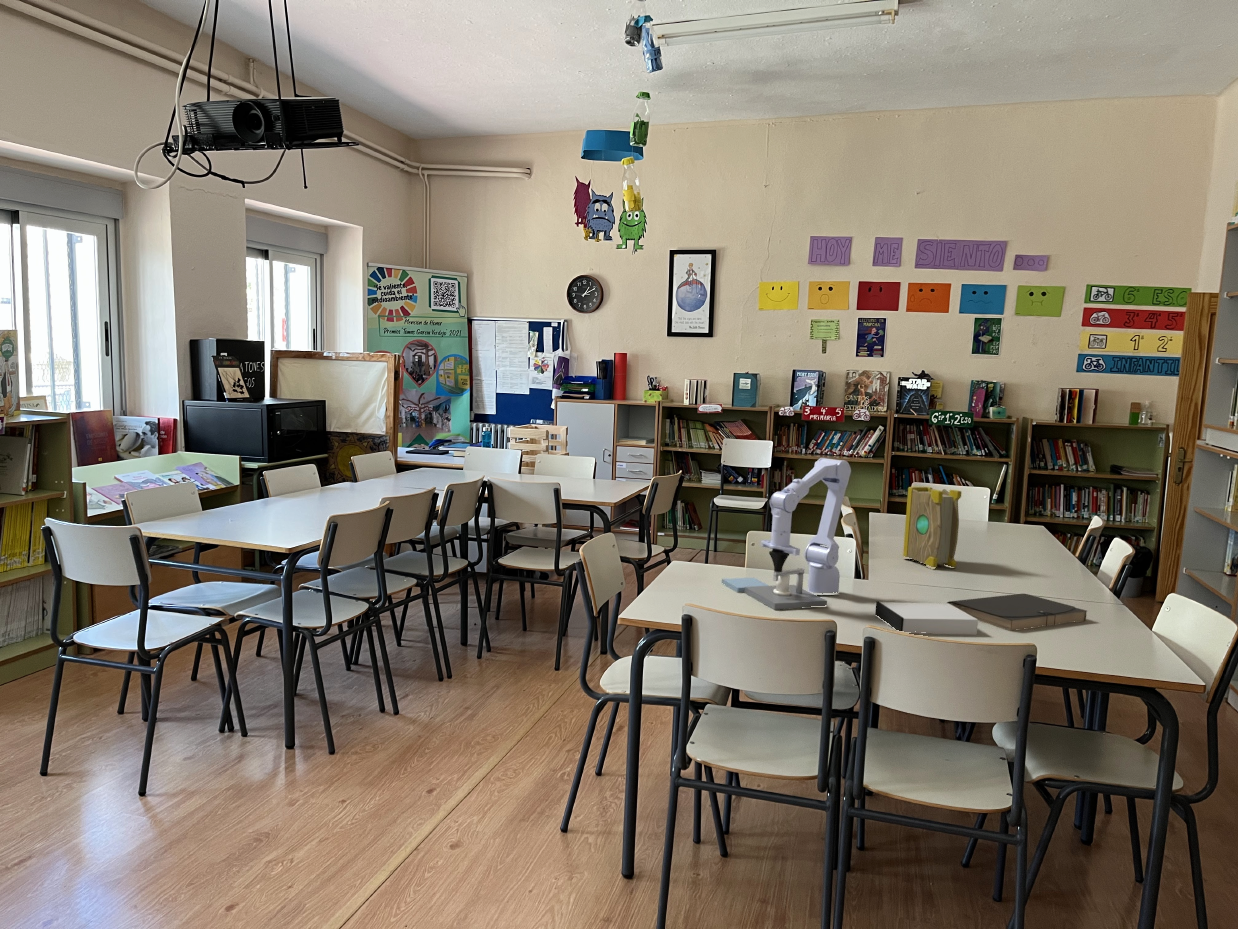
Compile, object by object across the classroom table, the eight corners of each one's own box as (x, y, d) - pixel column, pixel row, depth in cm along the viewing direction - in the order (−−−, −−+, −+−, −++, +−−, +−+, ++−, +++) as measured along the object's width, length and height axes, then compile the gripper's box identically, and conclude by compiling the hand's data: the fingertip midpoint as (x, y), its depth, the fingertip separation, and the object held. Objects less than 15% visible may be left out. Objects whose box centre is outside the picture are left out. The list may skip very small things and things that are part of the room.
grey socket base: (793, 590, 276) (795, 565, 275) (826, 607, 257) (828, 580, 256) (744, 592, 270) (745, 567, 270) (774, 610, 251) (776, 582, 251)
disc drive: (874, 617, 250) (875, 600, 249) (946, 618, 252) (948, 602, 252) (899, 635, 233) (901, 618, 232) (977, 636, 235) (978, 619, 234)
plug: (785, 597, 267) (786, 572, 266) (793, 601, 262) (795, 576, 261) (769, 598, 265) (771, 573, 264) (778, 602, 260) (779, 577, 259)
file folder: (1012, 619, 239) (946, 599, 260) (1011, 633, 239) (945, 612, 261) (1088, 609, 253) (1019, 591, 275) (1087, 623, 253) (1018, 603, 275)
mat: (753, 582, 286) (753, 577, 286) (770, 590, 274) (770, 586, 274) (721, 583, 282) (721, 578, 282) (737, 592, 271) (737, 587, 271)
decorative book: (900, 558, 335) (906, 484, 332) (923, 558, 338) (929, 484, 335) (933, 570, 316) (940, 491, 313) (957, 569, 319) (964, 491, 316)
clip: (800, 576, 266) (800, 568, 266) (805, 578, 264) (806, 569, 264) (771, 579, 260) (772, 571, 259) (777, 581, 258) (777, 573, 257)
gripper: (755, 527, 263) (752, 570, 264) (789, 535, 251) (786, 580, 252) (770, 526, 267) (767, 568, 268) (805, 534, 255) (802, 578, 257)
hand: (778, 573), depth 261 cm, fingers closed, pressing on clip
